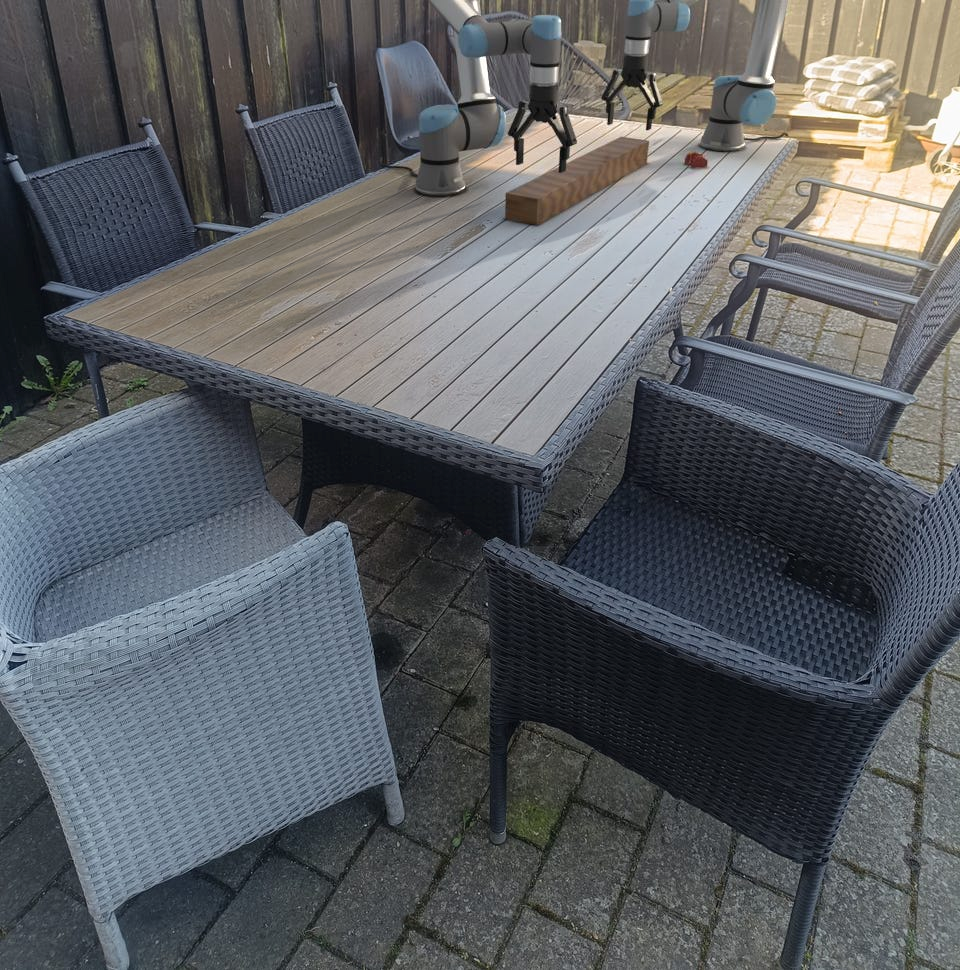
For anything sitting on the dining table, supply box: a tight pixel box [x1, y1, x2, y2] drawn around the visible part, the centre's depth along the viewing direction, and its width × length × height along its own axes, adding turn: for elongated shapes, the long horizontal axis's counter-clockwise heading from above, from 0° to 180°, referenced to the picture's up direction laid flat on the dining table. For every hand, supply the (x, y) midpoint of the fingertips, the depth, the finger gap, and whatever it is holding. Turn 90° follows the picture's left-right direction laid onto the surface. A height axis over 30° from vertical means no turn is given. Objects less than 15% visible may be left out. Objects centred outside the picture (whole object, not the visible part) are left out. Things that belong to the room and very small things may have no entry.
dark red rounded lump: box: [683, 151, 709, 169], centre depth 279 cm, size 6×4×8 cm
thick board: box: [504, 136, 650, 227], centre depth 257 cm, size 75×10×7 cm, turn 147°
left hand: (540, 167), depth 231 cm, fingers open, 13 cm apart
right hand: (628, 127), depth 273 cm, fingers open, 13 cm apart
